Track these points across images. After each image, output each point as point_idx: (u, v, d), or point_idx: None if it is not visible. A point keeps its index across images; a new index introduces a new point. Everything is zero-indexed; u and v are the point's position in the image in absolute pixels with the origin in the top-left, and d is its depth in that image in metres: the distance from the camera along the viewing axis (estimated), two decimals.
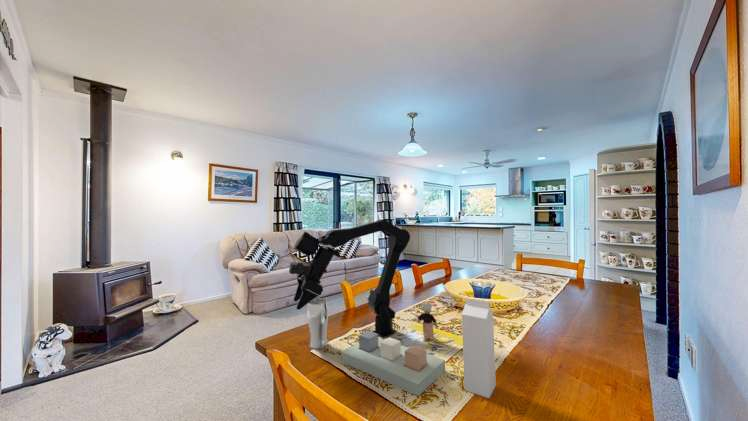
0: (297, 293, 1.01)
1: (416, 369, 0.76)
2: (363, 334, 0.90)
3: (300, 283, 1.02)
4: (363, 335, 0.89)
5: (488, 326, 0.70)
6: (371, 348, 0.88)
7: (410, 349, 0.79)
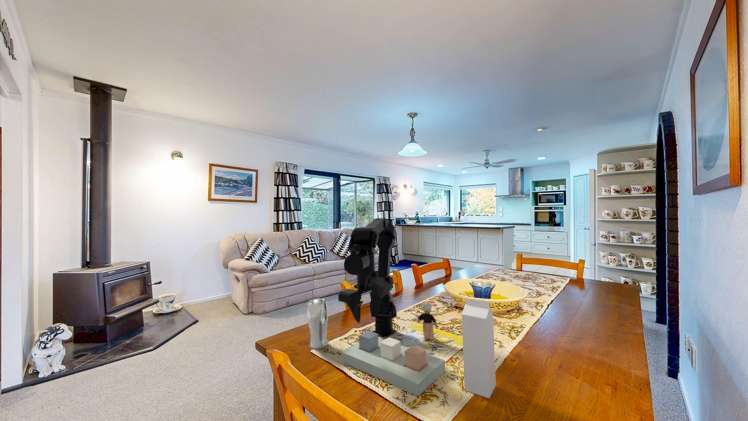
0: None
1: (416, 369, 0.76)
2: (363, 334, 0.90)
3: None
4: (363, 335, 0.89)
5: (488, 326, 0.70)
6: (371, 348, 0.88)
7: (410, 349, 0.79)
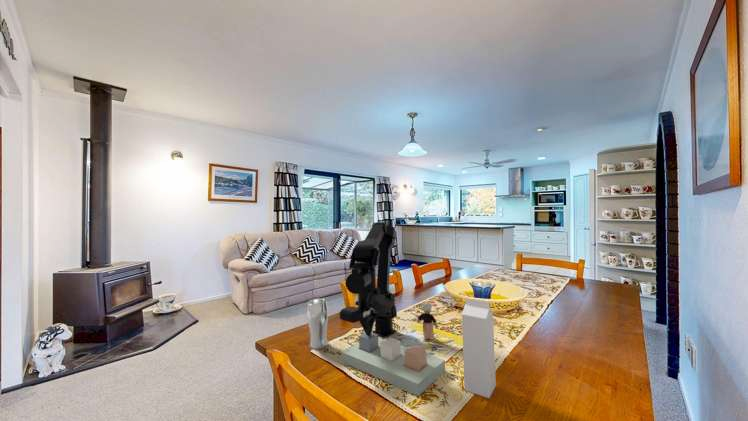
0: None
1: (416, 369, 0.76)
2: (363, 335, 0.90)
3: None
4: (363, 336, 0.89)
5: (488, 326, 0.70)
6: (371, 349, 0.88)
7: (410, 349, 0.79)
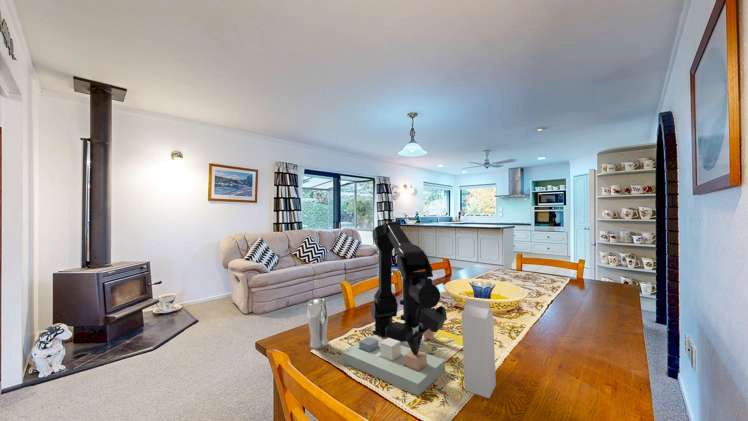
0: None
1: None
2: (363, 340, 0.90)
3: None
4: (363, 342, 0.89)
5: (488, 326, 0.70)
6: None
7: (410, 353, 0.79)
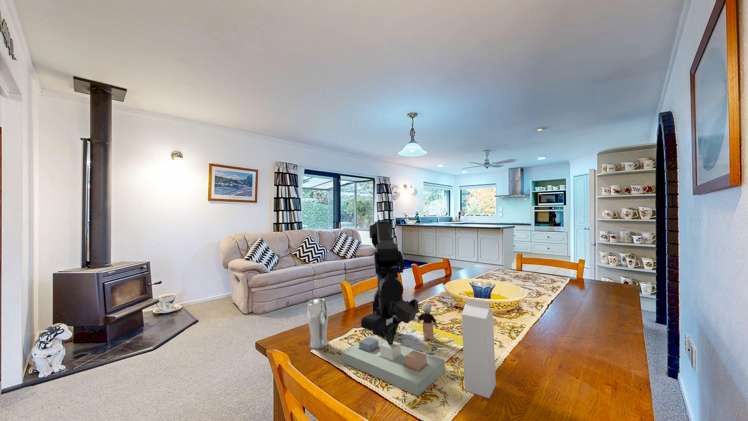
0: None
1: None
2: (363, 340, 0.90)
3: None
4: (363, 342, 0.89)
5: (488, 326, 0.70)
6: None
7: (410, 354, 0.79)
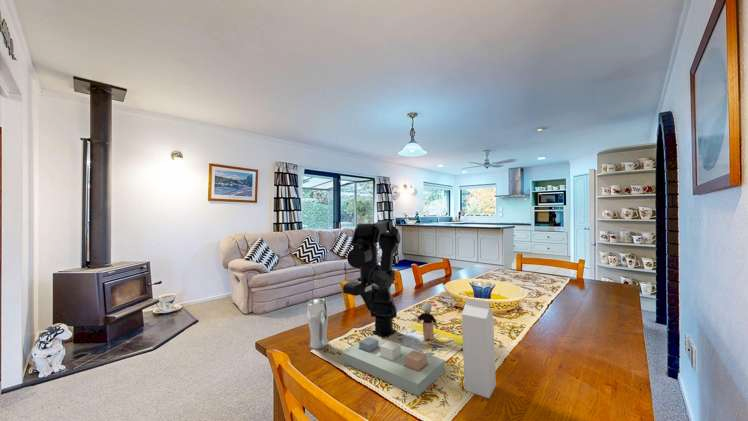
0: None
1: None
2: (363, 340, 0.90)
3: None
4: (363, 342, 0.89)
5: (488, 326, 0.70)
6: None
7: (410, 354, 0.79)
